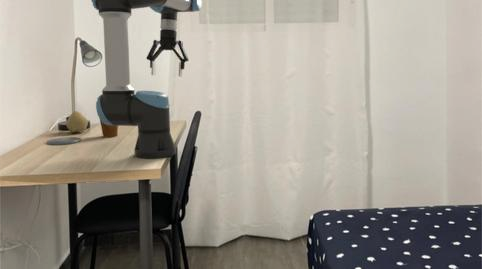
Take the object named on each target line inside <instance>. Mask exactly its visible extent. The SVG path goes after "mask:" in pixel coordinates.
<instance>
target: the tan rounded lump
mask: <svg viewBox="0 0 482 269" xmlns="http://www.w3.org/2000/svg"><path fill="white" fill-rule="evenodd" d="M65 122H66V123H65V126H66V128H67V129H68V130H69V132H70V133H71V134H72V133H80V132H84V131H86V130H87V127H88V123H89V122H88V119H87V118H86V117H85V115H83V114H82V113H81V112H79V111H77V110H75V111H73V112H72V113H71V114H69V116H67V117H66V118H65Z"/></svg>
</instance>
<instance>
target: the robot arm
mask: <svg viewBox="0 0 482 269" xmlns="http://www.w3.org/2000/svg"><path fill="white" fill-rule="evenodd" d="M91 3H92V7H93V8H94V9H95V10H97V11H98V15H99V16H100V17H101V18H102V22H103V43H104V47H103V48H104V62H105V63H104V65H105V82H106V83H105V86H104V87H103V88H102V90H101V92H102V94H100V95H99V96H98V97H97V99H96V100H97V101H95V102H96V103H95V110H96V113H97V114H96V115H97V116H98V119H99V121H100V120H101V121H102V122H103V123H104V124H106V125H113V126H118V127H119V126H123V127H124V126H125V127H129V126H130V127H137V129H138V130H137V134H138V135H137V139H136V142H135V147H134V151H133V152H134V156H135V157H137V158H140V159H160V157H162V158H166V157H167V158H168V157H172V156H174V155H176V154H177V147H176V145H175V142H174V140H173V137H172V133H171V122H170V116H171V115H170V104H169V103H170V102H169V101H170V100H169V96H168V95H167V94H166V93H165V92H162V91H155V90H137V91H136V92H135V88H134V87H133V86H131V77H130V76H131V75H130V54H129V53H130V52H129V51H130V50H129V22H128V20H129V19H130V17H131V16H132V10H135V9H144V8H150V9H151V10H153V11H154V12H156V13H159V14H160V28H159V29H160V30H159V31H160V32H159V33H160V34H159V40H157V39H153V42H152V43H153V44H152V46H151V47H150V50H149V52H148V54H147V56H146V60H148V61H149V68H150V69H151V72H150V73H151V76H156V70H157V66H156V65H157V64H156V63H157V62H156V61H155V60H156V59H157V58H158V57H159V56H160V55H161V53H162V52H163V51H173V53H174V54H175V56H176V57H177V59H179V62H178V77H179V78H180V77H181V78H183V70H185V63H186V62H189V56H188V54H187V52H186V49H185V47H184V42H183V41H182V40H177V29H178V13H188V12H189V13H190V12H191V13H193V12H199V11H200V10H201V8H202V0H91ZM158 45H159V47H158ZM176 46H178V48H179V50H180V51H178V48H177V47H176ZM157 48H158V49H157ZM156 49H157V50H156ZM180 52H181V53H180Z"/></svg>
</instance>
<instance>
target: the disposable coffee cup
mask: <svg viewBox="0 0 482 269" xmlns="http://www.w3.org/2000/svg"><path fill="white" fill-rule="evenodd" d="M99 123H100V127H101V128H100V129H101V131H102V132H101V133H102V137H103V138H115V137H118V129H119V126H113V125H106V124H104V123H103V122H102V121H101V120H100V119H99Z"/></svg>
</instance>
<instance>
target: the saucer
mask: <svg viewBox="0 0 482 269" xmlns="http://www.w3.org/2000/svg"><path fill="white" fill-rule="evenodd" d="M80 141H81V142H82V138H81V137H76V136H75V137H74V136H72V137H71V136H69V137H66V136H65V137H56V138H51V139H48V140H47V141H46V144H47V145H49V146H50V145H51V146H65V145H73V144H74V145H75V144H78V143H81V142H80Z"/></svg>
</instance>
